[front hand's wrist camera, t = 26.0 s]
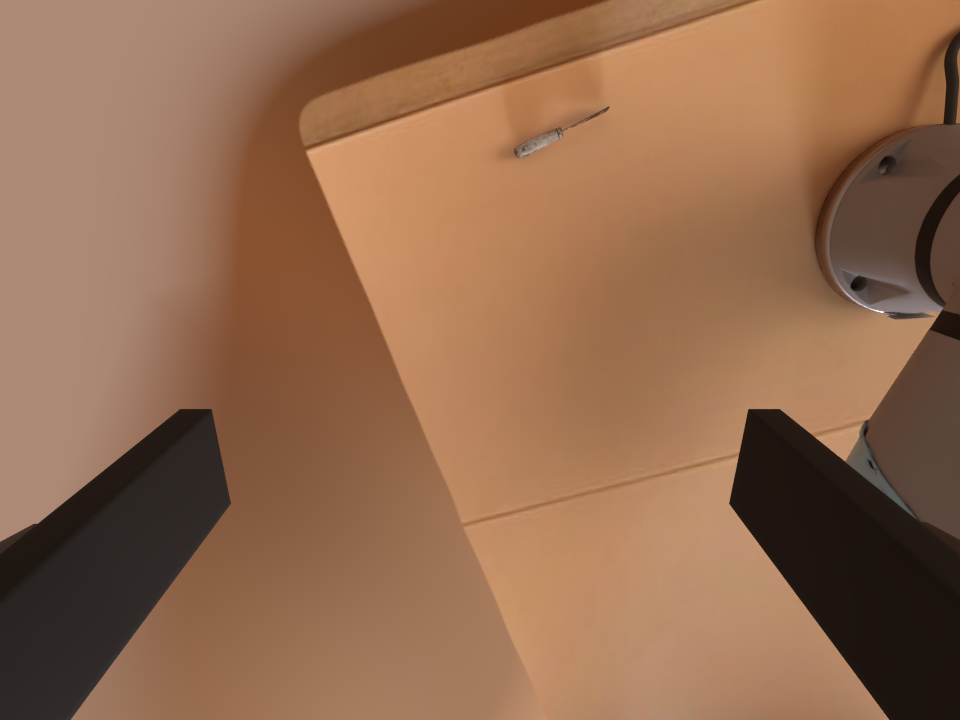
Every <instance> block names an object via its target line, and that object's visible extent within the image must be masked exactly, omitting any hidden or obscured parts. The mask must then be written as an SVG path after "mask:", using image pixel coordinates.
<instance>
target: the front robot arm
mask: <svg viewBox="0 0 960 720" xmlns="http://www.w3.org/2000/svg"><path fill="white" fill-rule="evenodd" d="M959 48H960V33H958V34H957V35H956V36H955V37H954V39H953V40H952V42H951V43H950V45H949V47H948V49H947V51H946V54H945V60H944V68H945V77H946V98H945V111H944V123H943V124H937V125H926V126H919V127H914V128H910V129H906V130H903V131H900V132H898V133H895V134H893V135H891V136H889V137H886V138H884V139H883V140H881V141H879V142H878V143H876V144H874V145H873V146H871V147H870V148H869V149H867V150H866V151H865V152H863V153H862V154H861V155H860V156H859V157H858V158H857V159H855V160H854V161H853V162H852V163H851V164H850V165H849V167H848V168H847V169H846V170H845V171H844V172H843V173H842V175H841V176H840V177H839V179H838V180H837V182H836V183H835V185H834V186H833V188H832V189H831V191H830V193H829V195H828V197H827V199H826V201H825V203H824V205H823V208H822V211H821V214H820V217H819V221H818V226H817V232H816V252H817V259H818V263H819V266H820V269H821V271H822V274H823V275H824V277H825V279H826V281H827V282H828V283H829V285H830V286H831V287H832V288H833V289H834V290H835V291H836V292H837V293H838V294H839V295H840V296H842V297H843V298H845V299H846V300H848V301H850V302H852V303H855V304H857V305H860V306H863V307H866V308H868V309H871V310H874V311H878V312H882V313H890V315H885V316H888V317H891V318H893V319H910V318H925V317H934V316H931V315H928V314H925V313H923V312H941V313H940V314H939V316H938V317H937V319H936V320H935V322H934V323H933V325H932V327H931V328H930V329H929V330H928V332H927V333H926V335H925V336H924V338H923V339H922V341H921V342H920V344H919V345H918V347H917V348H916V350H915V351H914V353H913V354H912V356H911V357H910V359H909V360H908V362H907V363H906V365H905V367H904V368H903V370H902V371H901V373H900V374H899V376H898V377H897V379H896V380H895V382H894V383H893V385H892V386H891V388H890V389H889V391H888V392H887V394H886V395H885V397H884V398H883V400H882V401H881V403H880V404H879V406H878V407H877V409H876V410H875V412H874V413H873V415H872V416H871V418H870V419H869V420H867V421H865V422H864V424H863V425H862V427H861V429H860V437H859V439H858V441H857V442H856V444H855V446H854V448H853V449H852V451H851V453H850V455H849V456H848V458H847V460H846V462H845V461H844V460H842V459H841V458H840V457H839V456H837V455H836V454H835V453H834V452H832V451H831V450H830V449H829V448H827V447H826V446H825V445H824V444H822V443H821V442H820V441H819V440H817V439H816V438H815V437H814V436H812V435H811V434H810V433H809V432H807V431H806V430H805V429H804V428H803V427H801V426H800V425H799V424H798V423H796V422H795V421H794V420H793V419H791V418H790V417H789V416H788V415H786V414H785V413H784V412H783V411H781V410H780V409H748V414H747V419H746V424H745V429H744V434H743V439H742V443H741V448H740V453H739V458H738V463H737V468H736V473H735V478H734V483H733V488H732V493H731V498H730V502H729V504H730V505H731V507H732V508H733V509H734V511H735V512H736V514H737V515H738V516H739V518H740V519H741V520H742V522H743V523H744V524H745V526H746V527H747V528H748V530H749V531H750V532H751V534H752V535H753V536H754V538H755V539H756V540H757V542H758V543H759V545H760V546H761V547H762V549H763V550H764V551H765V553H766V554H767V555H768V557H769V558H770V559H771V561H772V562H773V563H774V565H775V566H776V567H777V569H778V570H779V571H780V573H781V574H782V576H783V577H784V578H785V580H786V581H787V582H788V584H789V585H790V586H791V588H792V589H793V590H794V592H795V593H796V594H797V596H798V597H799V598H800V600H801V601H802V602H803V604H804V605H805V607H806V608H807V609H808V611H809V612H810V613H811V615H812V616H813V617H814V619H815V620H816V621H817V623H818V624H819V625H820V627H821V628H822V629H823V631H824V632H825V633H826V635H827V636H828V638H829V639H830V640H831V642H832V643H833V644H834V646H835V647H836V648H837V650H838V651H839V652H840V654H841V655H842V656H843V658H844V659H845V660H846V662H847V663H848V664H849V666H850V667H851V668H852V670H853V671H854V673H855V674H856V675H857V677H858V678H859V679H860V681H861V682H862V683H863V685H864V686H865V687H866V689H867V690H868V691H869V693H870V694H871V695H872V697H873V698H874V699H875V701H876V702H877V704H878V705H879V706H880V708H881V709H882V710H883V712H884V713H885V714H886V716H887V717H888V718H889V720H960V124H957V123H956V115H957V103H958V90H959V75H958V67H957V54H958V50H959ZM903 313H905V314H903ZM230 504H231V502H230V498H229V493H228V488H227V483H226V478H225V473H224V468H223V463H222V458H221V453H220V448H219V444H218V439H217V434H216V429H215V424H214V419H213V414H212V410H211V409H180V410H179V411H177V412H176V413H175V414H174V415H172V416H171V417H170V418H169V419H167V420H166V421H165V422H164V423H162V424H161V425H160V426H159V427H157V428H156V429H155V430H154V431H153V432H151V433H150V434H149V435H148V436H146V437H145V438H144V439H143V440H141V441H140V442H139V443H138V444H136V445H135V446H134V447H133V448H131V449H130V450H129V451H128V452H126V453H125V454H124V455H123V456H121V457H120V458H119V459H118V460H117V461H115V462H114V463H113V464H112V465H110V466H109V467H108V468H107V469H105V470H104V471H103V472H102V473H100V474H99V475H98V476H97V477H95V478H94V479H93V480H92V481H90V482H89V483H88V484H87V485H85V486H84V487H83V488H82V489H80V490H79V491H78V492H77V493H76V494H74V495H73V496H72V497H71V498H69V499H68V500H67V501H66V502H64V503H63V504H62V505H61V506H59V507H58V508H57V509H56V510H54V511H53V512H52V513H51V514H49V515H48V516H47V517H46V518H45V519H43V520H42V521H41V522H40V523H38V524H33V525H31V526H29V527H27V528H25V529H24V530H22V531H20V532H18V533H16V534H14V535H12V536H10V537H9V538H7V539H5V540H3V541H1V542H0V720H71V718H72V717H73V716H74V714H75V713H76V712H77V710H78V709H79V708H80V706H81V705H82V703H83V702H84V701H85V699H86V698H87V697H88V695H89V694H90V693H91V691H92V690H93V689H94V687H95V686H96V685H97V683H98V682H99V681H100V679H101V678H102V677H103V675H104V674H105V673H106V671H107V670H108V668H109V667H110V666H111V664H112V663H113V662H114V660H115V659H116V658H117V656H118V655H119V654H120V652H121V651H122V650H123V648H124V647H125V646H126V644H127V643H128V641H129V640H130V639H131V637H132V636H133V635H134V633H135V632H136V631H137V629H138V628H139V627H140V625H141V624H142V623H143V621H144V620H145V619H146V617H147V616H148V615H149V613H150V612H151V611H152V609H153V608H154V607H155V605H156V604H157V602H158V601H159V600H160V598H161V597H162V596H163V594H164V593H165V592H166V590H167V589H168V588H169V586H170V585H171V584H172V582H173V581H174V580H175V578H176V577H177V575H178V574H179V573H180V571H181V570H182V569H183V567H184V566H185V565H186V563H187V562H188V561H189V559H190V558H191V557H192V555H193V554H194V552H195V551H196V550H197V549H198V547H199V546H200V545H201V543H202V542H203V540H204V539H205V538H206V536H207V535H208V534H209V532H210V531H211V530H212V528H213V527H214V526H215V524H216V523H217V522H218V520H219V519H220V518H221V516H222V515H223V513H224V512H225V511H226V509H227V508H228V507H229V505H230Z"/></svg>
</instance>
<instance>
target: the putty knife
mask: <svg viewBox="0 0 960 720" xmlns="http://www.w3.org/2000/svg"><path fill="white" fill-rule="evenodd" d="M608 109H609V107H607V108H605V109H603V110H602V111H600V112H598V113H596V114H594V115H592V116H590V117H588V118H586V119H584V120H582V121H580V122H578V123H576V124H574V125H572V126H570V127H568V128H567V129H565V130H563V131H562V130H561V128H560V127H559V128H556V129H553V130H551V131H548V132H546V133H544V134H541V135H539V136H537V137H535V138H533V139H530V140H529V141H527V142H525V143H523V144H520V145H519V146H517V147H515V149H514V152H515V155H516V157H517V158H522V157H524V156H527V155H529V154H531V153H533V152H535V151H537V150H539V149H541V148H543V147H545V146H547V145H549V144H551V143H553V142H555V141H557V140H558V139H560V138H561V137H562V136H563V133H562V132H564V131H566V130H568V129H570V128H573V127H575V126H577V125H579V124H581V123H584V122H586V121H588V120H590V119H592V118H594V117H596V116H598V115H600V114H602V113H604V112H606V111H607V110H608Z"/></svg>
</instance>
